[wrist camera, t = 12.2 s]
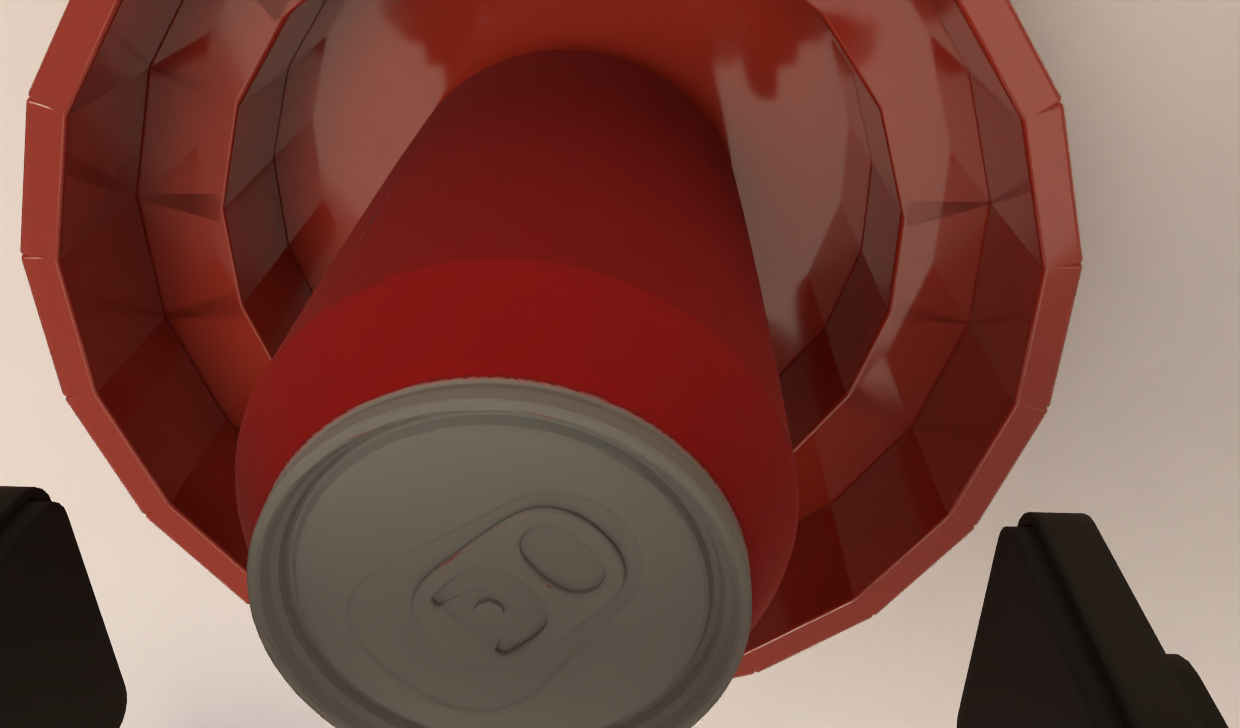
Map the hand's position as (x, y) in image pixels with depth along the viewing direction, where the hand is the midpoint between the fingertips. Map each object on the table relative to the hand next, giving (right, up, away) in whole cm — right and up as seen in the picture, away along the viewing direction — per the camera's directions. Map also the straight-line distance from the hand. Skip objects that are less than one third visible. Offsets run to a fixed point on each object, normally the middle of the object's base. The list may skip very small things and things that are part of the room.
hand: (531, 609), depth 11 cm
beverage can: (0, +6, +11) cm, 12 cm away
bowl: (0, +6, +12) cm, 13 cm away
